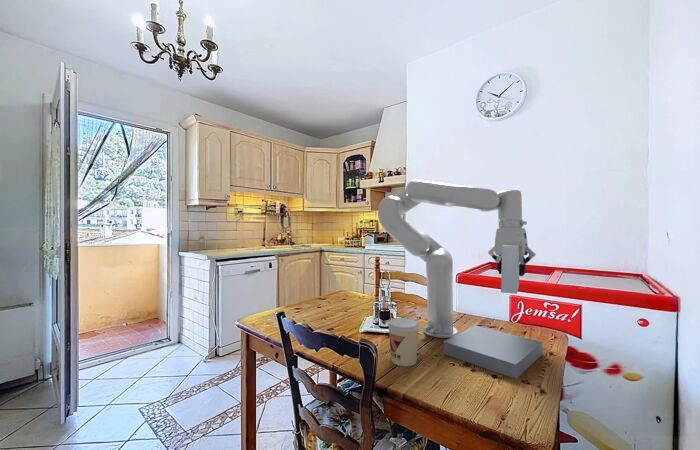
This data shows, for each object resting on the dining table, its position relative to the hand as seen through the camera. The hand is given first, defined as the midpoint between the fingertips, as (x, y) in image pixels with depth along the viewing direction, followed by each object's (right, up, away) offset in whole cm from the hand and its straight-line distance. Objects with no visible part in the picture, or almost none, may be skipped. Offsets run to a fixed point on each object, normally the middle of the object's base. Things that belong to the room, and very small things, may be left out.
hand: (511, 274), depth 109 cm
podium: (-12, -24, -11) cm, 29 cm away
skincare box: (0, -5, 0) cm, 5 cm away
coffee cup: (-41, -25, -15) cm, 50 cm away
